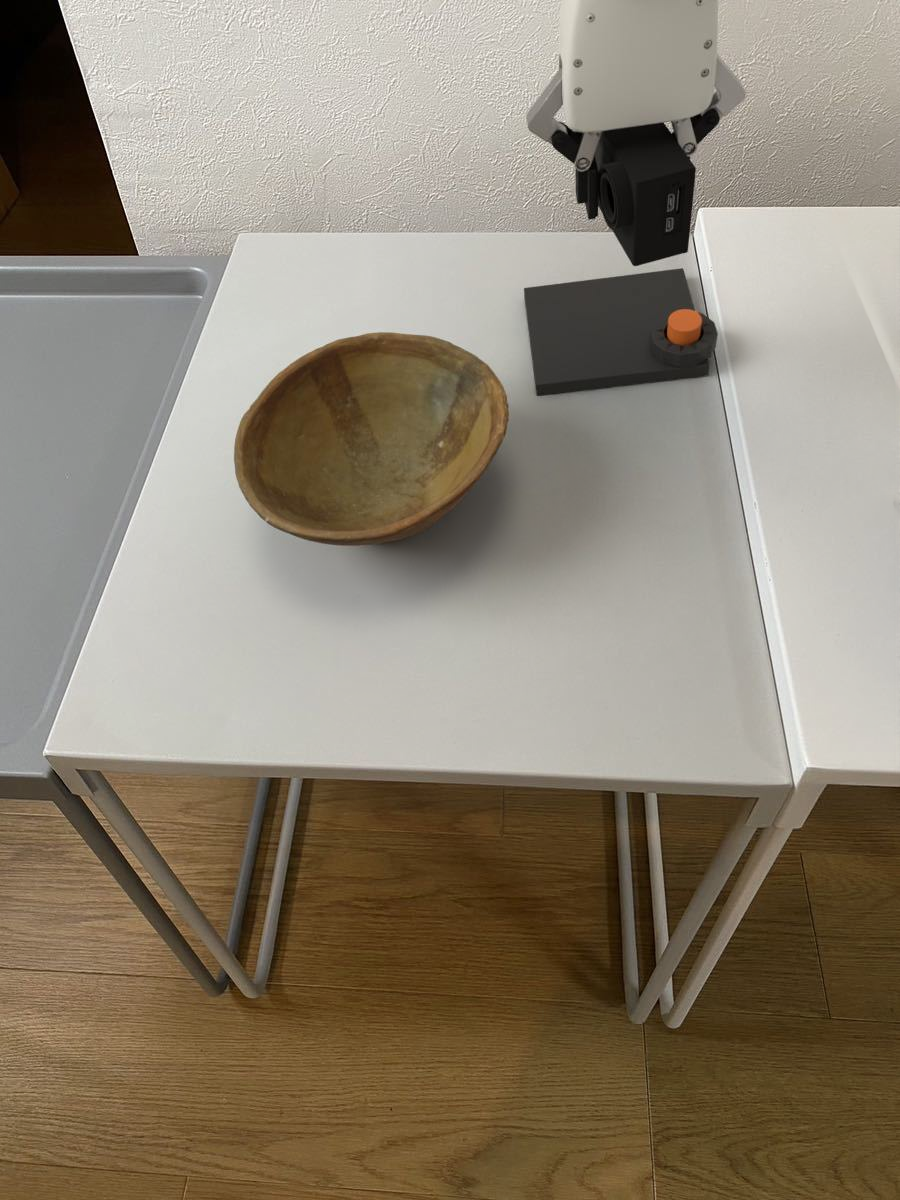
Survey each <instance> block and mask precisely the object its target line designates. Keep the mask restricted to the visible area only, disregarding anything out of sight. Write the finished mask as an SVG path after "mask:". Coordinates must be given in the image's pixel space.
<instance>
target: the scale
mask: <svg viewBox="0 0 900 1200" xmlns="http://www.w3.org/2000/svg"><path fill="white" fill-rule="evenodd" d="M523 297H524V305H525V313H526V314H525V315H526V322H527V331H528V338H529V347H530V353H531V355H530V356H531V363H532V371H533V380H534V387H535V395H536V396H544V395H553V394H562V393H570V392H579V391H580V392H581V391H589V390H598V389H605V388H613V387H615V388H616V387H623V386H632V385H639V384H641V385H642V384H647V383H648V384H650V383H657V382H665V381H674V380H683V379H691V378H700V377H709V373H710V366H711V364H710V361H709V359H710V358H711V357H712V355H713V353H714V351H715V349H716V347H717V341H718V336H719V334H718V329H717V327H716V323H715V322H714V320H713V319H711V318H710V317H708V316H707V315H705V313H702V312H699V311H696V310H695V306H694V303H693V299H692V296H691V291H690V288H689V284H688V280H687V277H686V273H685V270H684V268H683V267H681V268H680V267H679V268H674V269H673V268H672V269H666V270H665V269H664V270H657V271H650V272H640V273H633V274H624V275H617V276H610V277H609V276H608V277H602V278H593V279H585V280H578V281H577V280H576V281H569V282H563V283H562V282H561V283H553V284H545V285H537V286H528V287H524V288H523ZM681 309H689V310H693V311H695V312H697V313H698V314H699V315H700V316H701V318H702V325H701V333H700V338H699V339H698V340H697V341H696V342H695V343H693V344H691V345H683V346H682V345H678V344H673V343H672V342H671V341H669V339H668V337H667V328H668V319H669V316H670V315H671V314H672V313H673V312H675V311H677V310H681Z"/></svg>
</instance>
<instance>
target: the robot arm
mask: <svg viewBox="0 0 900 1200" xmlns="http://www.w3.org/2000/svg"><path fill="white" fill-rule="evenodd" d="M718 19H719V0H560V6H559V18H558V20H559V21H558V46H557V47H558V49H557V52H558V53H557V72H556V74H555V75H554V76H553V77H552V79H551V81H549V83H548V84H547V86H546V87H545V88H544V90H543V91H542V93H540V95H539V96H538V98H537V99H536V101H535V102H534V103H533V104H532V105H531V107H530V109H529V110H528V112H527V113H526V115H525V116H526V117H525V118H526V125H527V129H528V131H529V132H531V133H532V134H534V135H535V136H536V137H538V138H540V139H541V140H542V141H544V142H545V143H549V144H550V145H552V148H553V149H554V150H555V151H557V152H558V153H559V154H560V155H562V156H563V157H564V158H566V159H567V160H568V161H570V162H571V163H572V164H573V165H574V170H575V171H574V172H575V197H576V204H577V205H581V204H584V206H585V210H586V215H587V219H588V221H590V220H596V218H597V217H599V206H598V186H599V173H598V167H597V163H596V158H595V152H596V149H597V147H598V144H599V141H600V138H601V135H602V132H603V131H607V130H614V129H622V128H629V127H636V126H643V125H649V124H656V123H663V122H664V123H669V122H670V125H671V128H672V132H671V133H672V135H673V136H674V138H675V139H676V140H677V142H678V143H679V145H680V146H681V147H682V149H683V150H684V152H685V153H686V155H687V156H688V158H689V159H690V160H691V157H692V156H694V155H695V154H696V152H697V150H698V145H699V144H700V143H701V142H702V141H703V140H704V139H705V138H706V137H707V136H708V135H709V134H710V133H711V132H713V130H714V129H715V128H716V127H717V126H718V125H719V123H720V120H721V119H722V118H723V117H726V116H727V115H729V114H730V113H731V112H732V111H733V110H734V109H735V108H736V107H737V106H739V105H740V104H741V103H742V102H743V101H744V100H745V99H746V96H747V93H746V90H745V88H744V85H743V83H742V81H741V80H740V79H739V77H738V76H737V75H736V74H735V72H733V70H732V69H731V68H730V66H728V64H727V63H726V62H725V61H724V59H722V57H721V56H720V54H718V29H719V27H718V25H719V24H718V23H719V20H718ZM561 108H563V111H564V120H565V123H564V122H563V121H558V120H557V119H556V117H555V116H556V114H557V113H558V112H559V110H560V109H561Z"/></svg>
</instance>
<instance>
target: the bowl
mask: <svg viewBox="0 0 900 1200" xmlns="http://www.w3.org/2000/svg"><path fill="white" fill-rule="evenodd" d="M509 407H510V406H509V403H508V395H507V392H506V390H505V387H504V386H503V383H502V382H501V380H500V379H499V377H498V376H497V375H496V374H495V372H494V370H493V369H492V368H491V367H490V366H489V364H488V363H486V362H485V361H484V360H482V359H481V358H480V357H479V356H477V355H476V354H474V353H472V352H470V351H468V350H466V349H464V348H463V347H460V346H458V345H456V344H454V343H452V342H450V341H448V340H445V339H442V338H439V337H436V336H431V335H425V334H424V335H423V334H410V333H399V332H390V331H389V332H386V331H378V332H369V333H368V332H367V333H364V334H361V335H357V336H349V337H345V338H344V337H343V338H339V339H336V340H334V341H331V342H329V343H326V344H324V345H323V346H321V347H318V348H315V349H314V350H312V351H310V352H307V353H305V354H304V355H302V356H300V357H299V358H297V359H296V360H294V361H293V362H291V363H290V364H289V365H287V366H286V367H285V368H284V369H282V370H281V371H279V372H277V374H276V375H275V376H274V377H273V378H272V379H271V380H270V381H269V382H268V384H266V386H265V388H263V389H262V391H261V392H260V393H259V395H258V397H257V398H256V399H255V400H254V401H253V402H252V404H251V405H250V406H249V409H247V410H246V411H245V413H244V414H243V416H242V417H241V419H240V422H239V423H238V424H239V425H238V427H237V431H236V434H235V438H234V446H233V447H234V448H233V449H234V450H233V451H234V452H233V462H234V463H233V464H234V475H235V479H236V482H237V484H238V487H239V489H240V492H241V493H242V495H243V497H244V499H245V501H246V502H247V503H248V505H249V506H250V508H252V510H253V511H254V512H255V513H256V514H257V515H258V516H259V518H260V519H262V520H263V521H264V522H266V523H267V524H268V525H270V526H271V527H273V528H275V529H276V530H278V531H281V532H283V533H285V534H289V535H291V536H294V537H295V538H299V539H302V540H305V541H309V542H314V543H317V544H318V543H319V544H324V545H332V546H346V547H348V546H349V547H350V546H352V547H353V546H354V547H355V546H357V547H358V546H359V547H360V546H369V545H377V544H384V543H389V542H395V541H399V540H403V539H407V538H409V537H412V536H415V535H416V534H419V533H421V532H423V531H424V530H427V528H429V527H431V526H432V525H433V524H435V523H436V522H437V521H438V520H439V519H441V518H442V517H443V516H445V515H446V514H448V512H450V511H451V510H453V509H454V507H456V506H457V505H458V504H459V503H460V502H461V501H462V500H463V498H465V496H466V495H467V494H469V492H470V491H471V489H472V488H473V486H474V485H475V484H476V483H477V482H478V480H480V478H481V477H482V475H483V474H484V473H485V471H486V470H487V468H488V466H489V465H490V463H491V462H492V460H493V459H494V457H496V455H497V453H498V451H499V449H500V447H501V445H502V444H503V439H504V438H505V436H506V434H507V428H508V422H509V417H510V411H509Z"/></svg>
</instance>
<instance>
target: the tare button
mask: <svg viewBox="0 0 900 1200" xmlns="http://www.w3.org/2000/svg"><path fill="white" fill-rule="evenodd" d="M697 312H698V311H696V310H695V311H693V310H689V309H681V310H677V311H675V312H673V313H672V314H671V315H670V316H669V319H668V328H667V337H668V339H669V341H671V342H672V343H673V344H678V345H682V346H683V345H691V344H693V343H695V342H696V341H697V340H698V339H699V338H700V333H701V325H702V318H701V316H700V315H699V314H698V313H697Z"/></svg>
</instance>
